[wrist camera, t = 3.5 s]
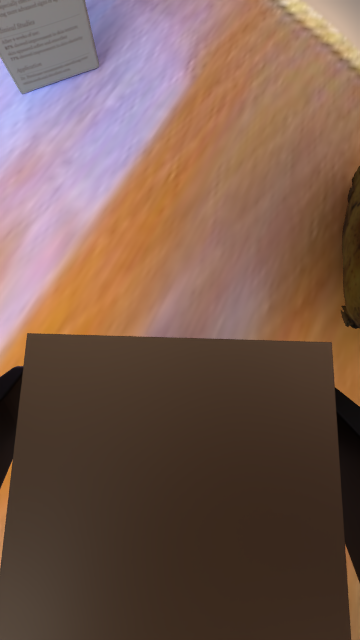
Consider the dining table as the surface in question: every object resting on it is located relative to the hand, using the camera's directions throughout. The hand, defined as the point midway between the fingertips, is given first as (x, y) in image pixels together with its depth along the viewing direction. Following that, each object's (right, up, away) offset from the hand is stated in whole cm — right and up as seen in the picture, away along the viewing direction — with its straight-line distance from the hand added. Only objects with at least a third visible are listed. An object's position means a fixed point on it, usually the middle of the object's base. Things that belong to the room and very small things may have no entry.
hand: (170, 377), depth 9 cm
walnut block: (-1, -2, +7) cm, 8 cm away
